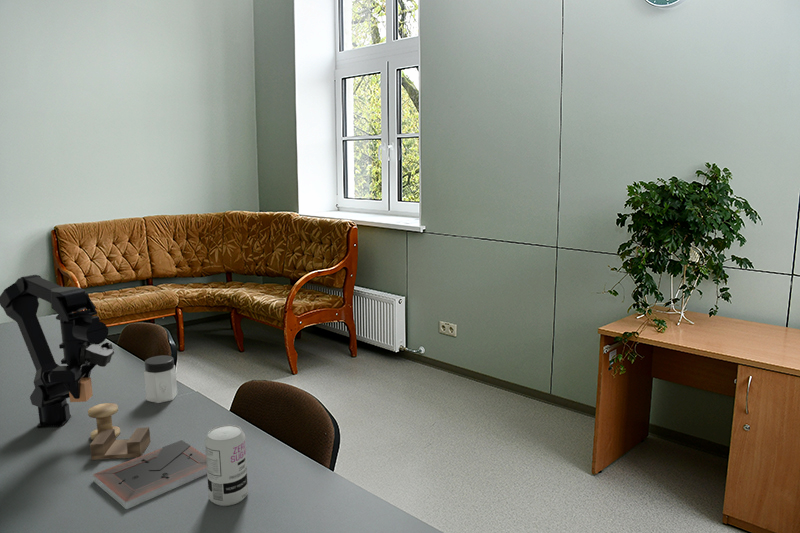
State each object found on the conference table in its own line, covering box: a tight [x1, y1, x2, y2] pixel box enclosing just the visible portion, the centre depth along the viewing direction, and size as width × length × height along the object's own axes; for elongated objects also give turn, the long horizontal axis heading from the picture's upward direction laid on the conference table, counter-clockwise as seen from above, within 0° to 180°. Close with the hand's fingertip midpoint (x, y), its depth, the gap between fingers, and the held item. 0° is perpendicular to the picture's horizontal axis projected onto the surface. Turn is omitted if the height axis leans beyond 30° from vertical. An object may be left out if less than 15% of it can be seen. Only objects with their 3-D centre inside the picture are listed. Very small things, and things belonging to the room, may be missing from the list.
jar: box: [143, 355, 178, 404], centre depth 182 cm, size 9×8×12 cm
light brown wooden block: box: [69, 377, 94, 403], centre depth 157 cm, size 4×4×5 cm
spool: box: [87, 402, 121, 441], centre depth 158 cm, size 7×7×8 cm
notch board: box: [89, 426, 151, 461], centre depth 151 cm, size 12×8×4 cm
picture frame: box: [92, 439, 207, 510], centre depth 140 cm, size 16×2×22 cm
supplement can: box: [204, 424, 249, 507], centre depth 130 cm, size 8×8×15 cm
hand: (80, 395), depth 158 cm, fingers closed on light brown wooden block, 4 cm apart
